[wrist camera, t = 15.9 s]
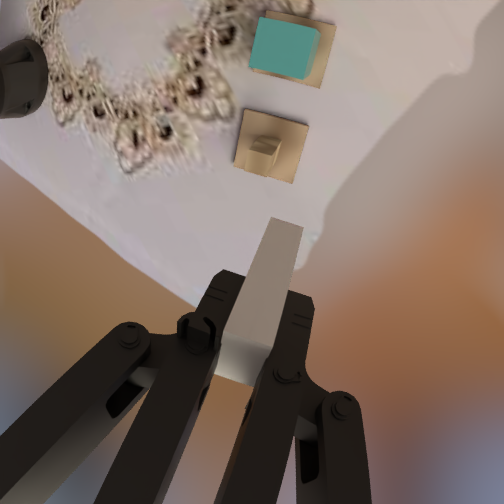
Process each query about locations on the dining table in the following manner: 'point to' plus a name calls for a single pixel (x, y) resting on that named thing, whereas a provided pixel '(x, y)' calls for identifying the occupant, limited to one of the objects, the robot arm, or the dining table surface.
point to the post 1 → (321, 53)
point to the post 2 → (270, 145)
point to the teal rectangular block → (284, 48)
